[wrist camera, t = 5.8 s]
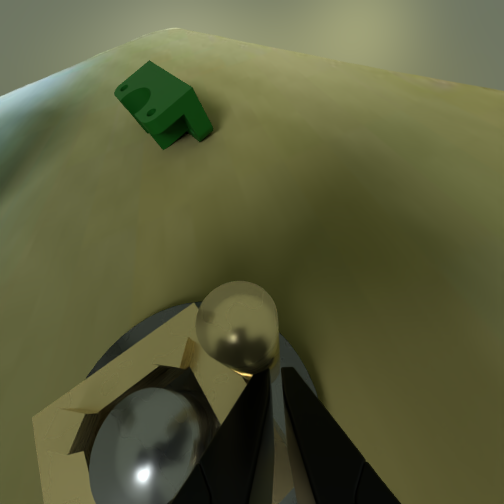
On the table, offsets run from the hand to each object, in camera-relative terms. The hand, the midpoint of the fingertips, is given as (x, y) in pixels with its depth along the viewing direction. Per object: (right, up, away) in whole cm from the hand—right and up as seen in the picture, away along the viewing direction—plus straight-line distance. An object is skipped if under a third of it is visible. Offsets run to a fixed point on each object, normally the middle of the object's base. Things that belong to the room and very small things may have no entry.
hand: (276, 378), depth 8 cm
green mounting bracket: (-11, +19, +23) cm, 32 cm away
